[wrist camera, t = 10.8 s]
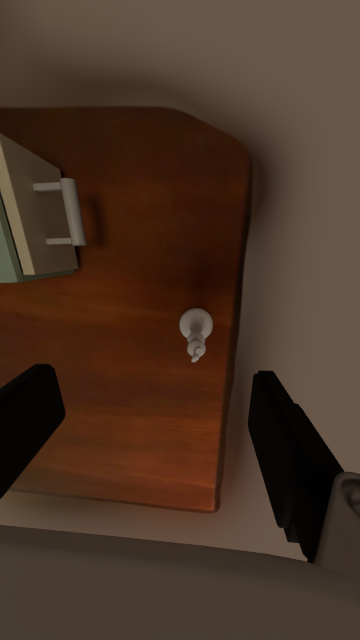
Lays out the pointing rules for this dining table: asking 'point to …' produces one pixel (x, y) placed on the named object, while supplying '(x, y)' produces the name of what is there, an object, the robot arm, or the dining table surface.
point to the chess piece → (196, 330)
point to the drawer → (39, 211)
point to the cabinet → (15, 257)
